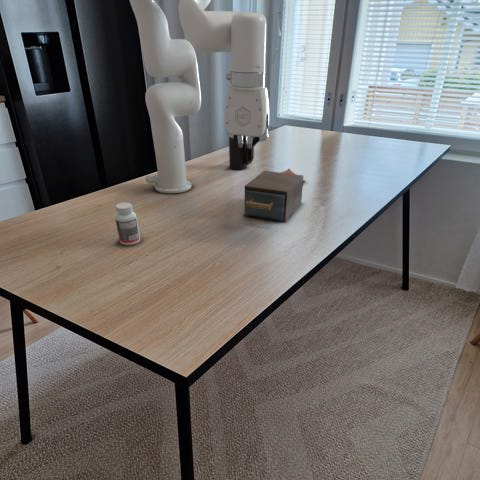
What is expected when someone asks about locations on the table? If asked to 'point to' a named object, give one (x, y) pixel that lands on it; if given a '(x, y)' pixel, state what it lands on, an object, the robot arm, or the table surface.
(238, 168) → the vinegar
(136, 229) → the pill bottle
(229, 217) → the table surface
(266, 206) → the drawer
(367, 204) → the table surface
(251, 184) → the cabinet
